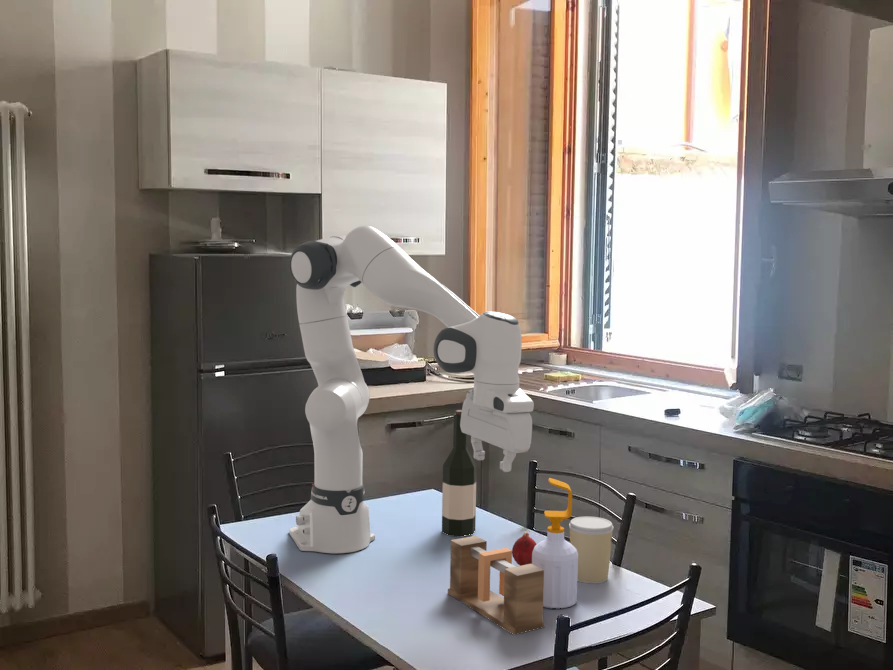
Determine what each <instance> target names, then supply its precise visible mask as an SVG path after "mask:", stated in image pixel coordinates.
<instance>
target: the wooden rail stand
mask: <svg viewBox="0 0 893 670" xmlns="http://www.w3.org/2000/svg"><path fill="white" fill-rule="evenodd" d="M487 543H488V542H487V540H485V539H484V538H481V537H479V536H477V535H471V536H465V537H460V538H456V539H451V540H450V556H449V558H450V559H449V560H450V562H449V563H450V565H449V570H450V571H449V573H450V574H449V588H447V594H448V595H449V596H451V597H453V598H454V599H456V600H457V599H458V601H459V600H460V601H459V602H460V603H462V602H463V603H462V604H464V605H465V604H467V605H468V606H467V605H466V606H467V607H469V608H470V607H471V608H470V609H472V608H473V609H474V611H475V610H476V611H477V613H478V612H479V613H478V614H480V615H481V614H482V616H483V615H484V616H485V618H486V617H487V618H486V619H488V618H489V619H490V620H489V619H488V620H489V621H491V620H492V621H493V622H492V621H491V622H492V623H494V622H495V623H494V624H496V625H497V624H498V625H497V626H498V627H500V626H501V628H502V627H503V628H504V629H503V628H502V629H503V630H505V631H506V632H508V631H509V632H508V633H510V632H511V633H513V634H515V635H518V634H517V633H519V634H522V633H521V632H523V633H526V632H525V631H527V632H530V631H529V630H531V631H534V630H533V629H535V630H538V629H537V628H539V629H542V628H541V627H543V628H545V626H546V625H545V623H546V622H545V621H544V620H543V615H544V613H543V611H544V607H543V585H544V570H543V569H541V568H539V567H537V566H535V565H533V564H527V565H522V566H520V565H518V566H516V565H514V564H513V563H512V564H510V563H508V562H507V561H505V560H503V559H498V560H493V561H490V568H491V567H492V568H493V569H495V570H497V571H499V573H500V572H502V573H504V574H505V576H504V596H502V595H500V594H497V593H496V592H494V591H492V590H490V600H489V601H485V602H483V601H481V600H480V599H478V563H479V553H481V552H487V551H488V550H487V548H488V547H487ZM473 609H472V610H473ZM476 611H475V612H476ZM484 616H483V617H484ZM511 633H510V634H511ZM513 634H512V635H513Z"/></svg>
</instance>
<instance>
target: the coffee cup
mask: <svg viewBox="0 0 893 670" xmlns="http://www.w3.org/2000/svg"><path fill="white" fill-rule="evenodd" d="M568 528H569V543H571V544H572V545H573V546H574V547H575V548H576V549H577V552H578V576H577V582H579V583H585V584H601V582H602V583H604V581H605V582H606V581H608V579H609V578H608V577H609V570H610V562H611V554H612V553H611V552H612V543H613V531H614V525H613V523H612V521H610V520H609V519H607V518H604V517H598V516H591V515H590V516H586V515H585V516H577V517H575V518H572V519H571V520H570V521H569V524H568Z"/></svg>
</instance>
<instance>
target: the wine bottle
mask: <svg viewBox="0 0 893 670" xmlns="http://www.w3.org/2000/svg"><path fill="white" fill-rule="evenodd" d="M461 413H462V409H457V410H455V413H453V437H452V439H453V440H452V445H453V446H452V450H451V452H450V453H449V454H448V456H447V458H446V459H445V461H444V463H443V464H442V494H441V495H442V496H441V497H442V498H441V499H442V500H441V502H442V503H441V505H442V506H441V533H442V532H444V533H446V534H448V535H454V536H453V537H457V536H464V535H469V534H470V536H472V535H471V534H473V533H474V534H475V532H476V518H477V517H476V514H477V510H476V509H477V508H476V506H477V472H478V471H477V463H476V461H475V459H474V456H473V455H472V454H471V452H470V450H469V449H468V434H465V433H463V432H462V431H461V427H460V421H461ZM474 531H475V532H474ZM444 533H443V534H444ZM446 534H445V535H446ZM474 534H473V535H474ZM448 535H447V536H448ZM464 537H465V536H464Z"/></svg>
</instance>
